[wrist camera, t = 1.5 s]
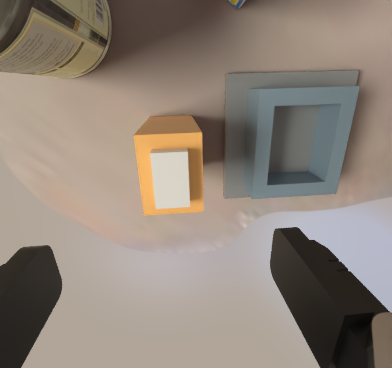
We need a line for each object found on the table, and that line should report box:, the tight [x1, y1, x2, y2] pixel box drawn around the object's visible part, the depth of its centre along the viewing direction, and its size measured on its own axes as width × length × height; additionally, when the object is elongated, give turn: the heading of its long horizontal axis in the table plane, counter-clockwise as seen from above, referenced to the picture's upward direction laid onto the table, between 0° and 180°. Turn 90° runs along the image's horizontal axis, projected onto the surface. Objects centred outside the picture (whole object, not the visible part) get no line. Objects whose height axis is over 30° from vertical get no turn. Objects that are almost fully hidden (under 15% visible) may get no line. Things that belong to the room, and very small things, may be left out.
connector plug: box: [134, 115, 204, 215], centre depth 21 cm, size 4×6×12 cm
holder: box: [223, 70, 360, 199], centre depth 25 cm, size 14×14×4 cm
